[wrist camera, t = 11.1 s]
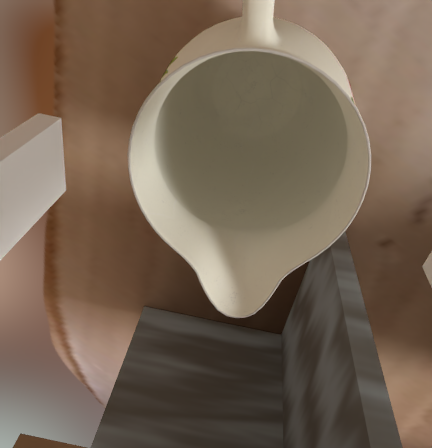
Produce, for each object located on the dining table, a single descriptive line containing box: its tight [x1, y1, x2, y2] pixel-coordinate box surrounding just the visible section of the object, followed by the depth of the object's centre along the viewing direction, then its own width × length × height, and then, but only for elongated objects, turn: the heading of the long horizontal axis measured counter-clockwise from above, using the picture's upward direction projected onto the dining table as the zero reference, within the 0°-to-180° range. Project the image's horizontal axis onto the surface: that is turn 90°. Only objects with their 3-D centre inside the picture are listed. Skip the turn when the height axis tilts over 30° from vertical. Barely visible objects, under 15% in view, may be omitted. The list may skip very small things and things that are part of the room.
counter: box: [13, 231, 402, 448], centre depth 28 cm, size 16×16×23 cm
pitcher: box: [128, 0, 371, 318], centre depth 22 cm, size 11×18×14 cm, turn 179°
